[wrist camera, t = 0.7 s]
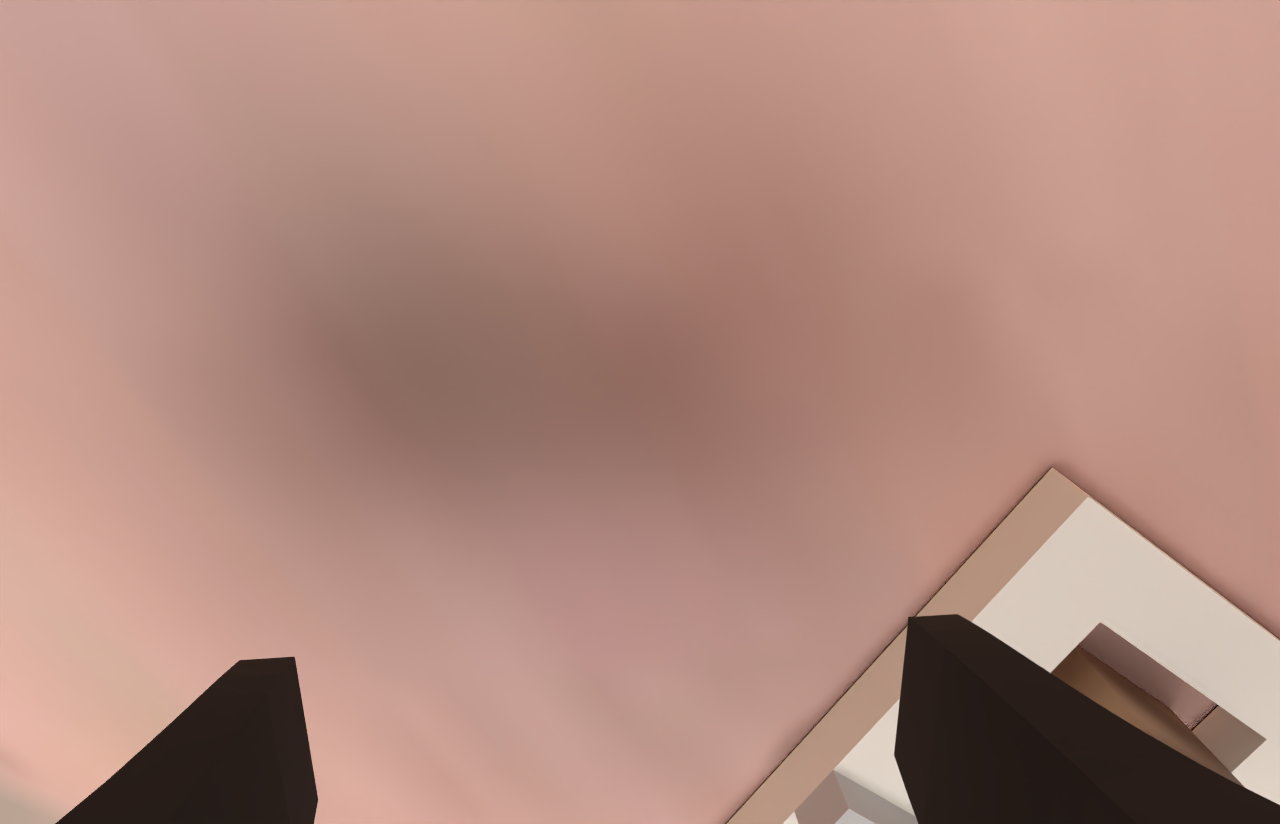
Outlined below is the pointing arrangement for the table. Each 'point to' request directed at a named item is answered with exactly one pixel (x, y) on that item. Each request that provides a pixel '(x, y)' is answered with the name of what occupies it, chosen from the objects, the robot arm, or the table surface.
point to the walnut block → (1134, 706)
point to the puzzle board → (1047, 655)
